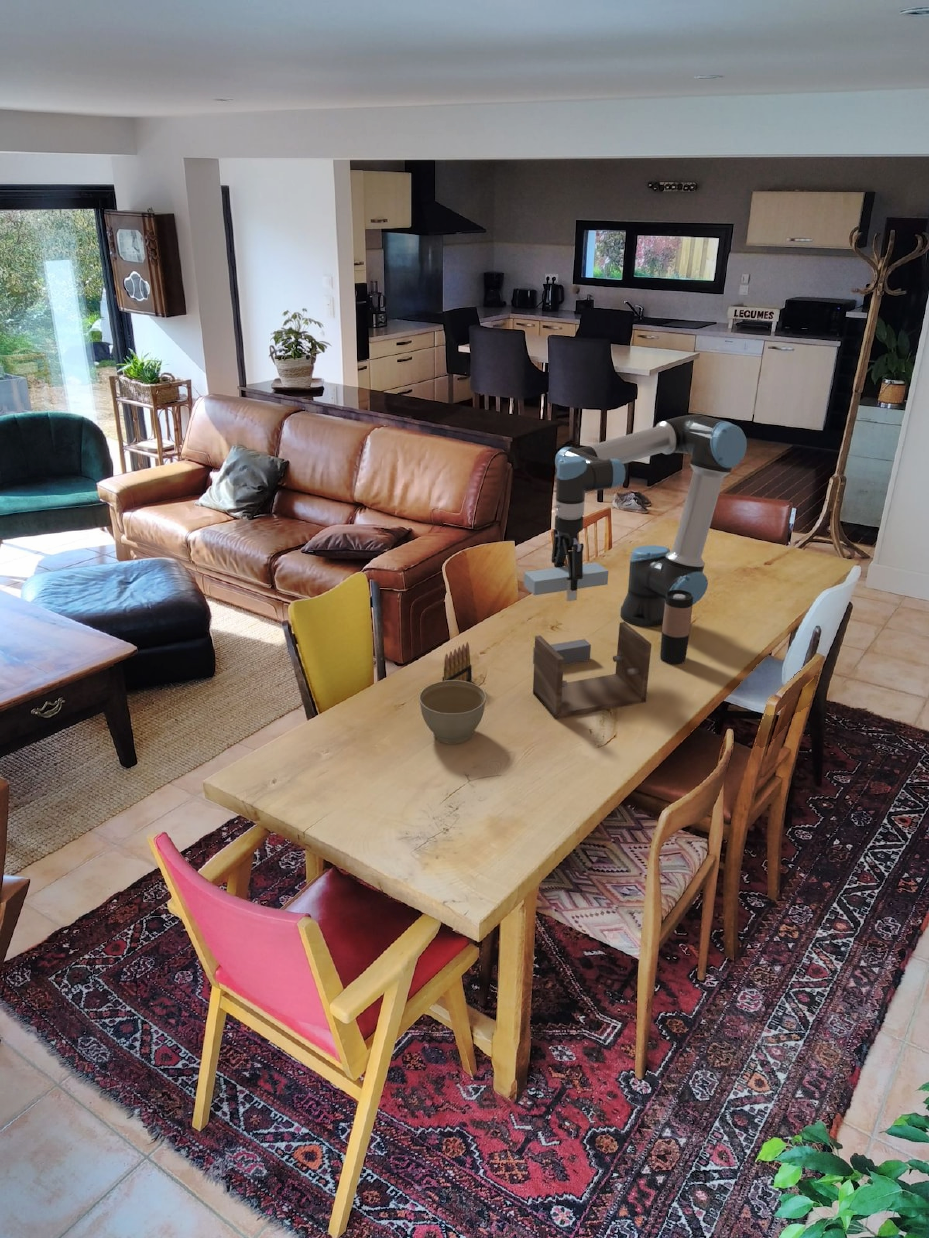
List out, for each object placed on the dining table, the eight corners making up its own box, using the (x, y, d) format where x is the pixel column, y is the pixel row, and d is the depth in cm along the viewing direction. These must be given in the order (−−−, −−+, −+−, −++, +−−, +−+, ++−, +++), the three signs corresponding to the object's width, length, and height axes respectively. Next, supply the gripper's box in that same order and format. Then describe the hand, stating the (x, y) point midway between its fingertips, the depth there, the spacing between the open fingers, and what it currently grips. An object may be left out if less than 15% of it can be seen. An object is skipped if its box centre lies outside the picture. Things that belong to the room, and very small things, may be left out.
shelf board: (595, 575, 257) (596, 562, 255) (607, 584, 251) (608, 570, 249) (523, 585, 250) (524, 572, 248) (534, 595, 244) (534, 581, 242)
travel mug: (654, 659, 262) (660, 595, 254) (668, 650, 267) (675, 587, 259) (677, 667, 257) (684, 602, 249) (691, 658, 262) (699, 594, 254)
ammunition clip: (466, 679, 251) (466, 639, 246) (472, 681, 250) (472, 641, 245) (442, 694, 243) (441, 654, 238) (447, 696, 242) (447, 656, 237)
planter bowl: (410, 725, 229) (409, 687, 224) (469, 712, 235) (469, 675, 230) (434, 758, 215) (433, 718, 211) (496, 743, 221) (496, 704, 217)
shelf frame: (619, 677, 252) (624, 621, 245) (645, 701, 240) (651, 643, 233) (532, 693, 244) (535, 636, 236) (555, 719, 232) (558, 659, 224)
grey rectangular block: (583, 654, 264) (584, 639, 262) (589, 660, 261) (590, 644, 259) (532, 663, 259) (533, 647, 257) (538, 669, 256) (539, 653, 254)
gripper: (540, 506, 249) (538, 583, 259) (573, 528, 232) (568, 610, 242) (565, 503, 251) (562, 580, 261) (599, 525, 234) (594, 607, 244)
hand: (565, 594), depth 251 cm, fingers closed on shelf board, 7 cm apart
